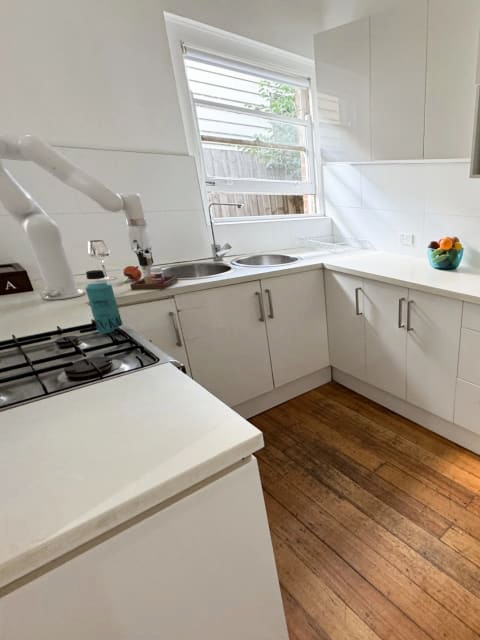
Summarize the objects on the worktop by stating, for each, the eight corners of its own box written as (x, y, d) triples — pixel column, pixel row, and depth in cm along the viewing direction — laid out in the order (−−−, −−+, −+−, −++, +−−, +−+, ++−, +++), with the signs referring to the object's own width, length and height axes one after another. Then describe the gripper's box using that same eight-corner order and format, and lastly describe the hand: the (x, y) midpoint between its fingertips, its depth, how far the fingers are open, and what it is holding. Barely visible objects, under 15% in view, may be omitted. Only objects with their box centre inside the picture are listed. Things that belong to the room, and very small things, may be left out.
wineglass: (99, 281, 179) (87, 242, 172) (93, 279, 183) (82, 241, 176) (119, 278, 185) (109, 241, 178) (113, 276, 189) (103, 239, 183)
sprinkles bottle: (143, 283, 176) (136, 253, 171) (154, 281, 179) (148, 252, 174) (147, 284, 173) (140, 254, 168) (158, 283, 176) (151, 253, 172)
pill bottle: (152, 287, 169) (147, 268, 166) (155, 285, 173) (151, 266, 170) (164, 287, 170) (159, 268, 167) (167, 284, 175) (163, 266, 171)
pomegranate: (135, 287, 179) (149, 271, 184) (120, 276, 174) (135, 260, 178) (128, 286, 183) (142, 271, 187) (113, 276, 178) (128, 260, 182)
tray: (164, 289, 169) (163, 283, 168) (131, 290, 166) (130, 284, 165) (177, 281, 182) (176, 276, 181) (147, 282, 180) (146, 276, 179)
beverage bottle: (97, 334, 117) (77, 270, 110) (123, 329, 122) (106, 267, 114) (101, 340, 113) (80, 274, 106) (127, 335, 118) (109, 271, 110)
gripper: (136, 221, 173) (146, 261, 180) (116, 224, 158) (128, 268, 165) (154, 221, 175) (163, 261, 181) (136, 224, 159) (147, 268, 166)
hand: (146, 264), depth 173 cm, fingers closed on sprinkles bottle, 4 cm apart
